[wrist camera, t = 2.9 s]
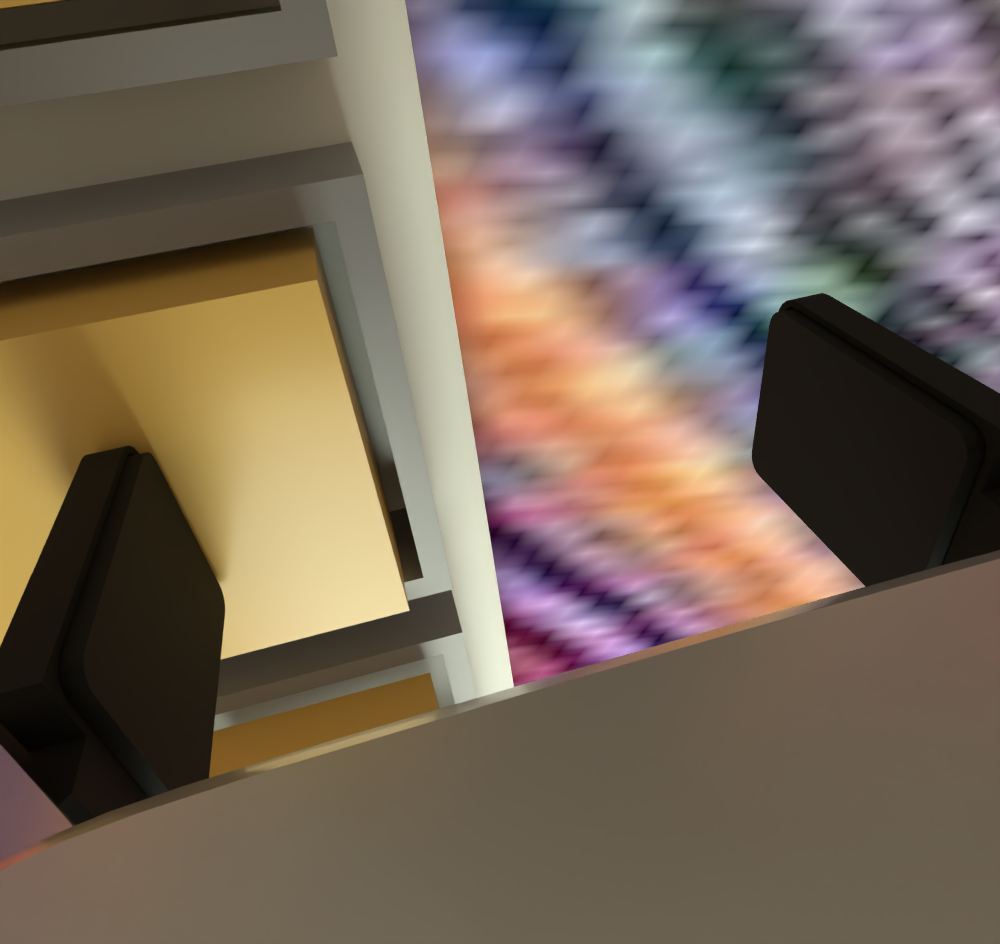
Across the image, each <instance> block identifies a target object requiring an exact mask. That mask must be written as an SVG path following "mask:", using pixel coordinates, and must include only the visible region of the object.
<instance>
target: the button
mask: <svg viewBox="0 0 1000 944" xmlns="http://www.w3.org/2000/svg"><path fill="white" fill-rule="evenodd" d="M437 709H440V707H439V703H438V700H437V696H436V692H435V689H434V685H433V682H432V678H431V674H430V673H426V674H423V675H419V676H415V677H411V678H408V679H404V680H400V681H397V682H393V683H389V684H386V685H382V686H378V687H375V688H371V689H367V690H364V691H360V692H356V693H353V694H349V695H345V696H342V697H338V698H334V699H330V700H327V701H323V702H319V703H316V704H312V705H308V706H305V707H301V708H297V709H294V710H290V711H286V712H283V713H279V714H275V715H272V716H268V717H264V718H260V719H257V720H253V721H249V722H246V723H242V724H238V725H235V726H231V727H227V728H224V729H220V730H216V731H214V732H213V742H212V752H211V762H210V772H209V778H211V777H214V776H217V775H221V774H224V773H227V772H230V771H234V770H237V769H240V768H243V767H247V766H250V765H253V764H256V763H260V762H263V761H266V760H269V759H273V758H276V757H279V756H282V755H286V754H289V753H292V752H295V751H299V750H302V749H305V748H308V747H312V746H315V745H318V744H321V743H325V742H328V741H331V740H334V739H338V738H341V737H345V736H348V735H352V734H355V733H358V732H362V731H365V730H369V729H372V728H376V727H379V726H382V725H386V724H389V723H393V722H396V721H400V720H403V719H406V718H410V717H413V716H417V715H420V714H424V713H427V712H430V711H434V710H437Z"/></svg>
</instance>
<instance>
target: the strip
mask: <svg viewBox="0 0 1000 944" xmlns="http://www.w3.org/2000/svg"><path fill="white" fill-rule="evenodd" d="M308 228H313V230H314V234H315V237H316V241H317V245H318V249H319V252H320V256H321V260H322V263H323V267H324V271H325V274H326V278H327V282H328V285H329V289H330V293H331V297H332V300H333V304H334V308H335V311H336V315H337V319H338V322H339V326H340V330H341V334H342V337H343V341H344V345H345V348H346V352H347V356H348V359H349V363H350V367H351V370H352V374H353V378H354V382H355V385H356V389H357V393H358V396H359V400H360V404H361V407H362V411H363V415H364V419H365V422H366V426H367V430H368V433H369V437H370V441H371V444H372V448H373V452H374V456H375V459H376V463H377V467H378V470H379V474H380V478H381V481H382V485H383V489H384V492H385V496H386V500H387V504H388V507H389V511H390V515H391V518H392V522H393V526H394V529H395V534H396V540H397V545H398V551H399V556H400V561H401V567H402V572H403V578H404V583H405V589H406V594H407V599H408V605H409V610H410V611H406V612H402V613H399V614H395V615H391V616H387V617H383V618H379V619H375V620H372V621H368V622H364V623H360V624H356V625H352V626H348V627H344V628H341V629H337V630H333V631H329V632H325V633H321V634H317V635H314V636H310V637H306V638H302V639H298V640H294V641H290V642H287V643H283V644H279V645H275V646H271V647H267V648H263V649H259V650H256V651H252V652H248V653H244V654H240V655H236V656H232V657H229V658H225V659H221V660H220V671H219V681H218V691H217V701H216V711H215V722H214V731H216V730H220V729H224V728H227V727H231V726H235V725H238V724H242V723H246V722H249V721H253V720H257V719H260V718H264V717H268V716H272V715H275V714H279V713H283V712H286V711H290V710H294V709H297V708H301V707H305V706H308V705H312V704H316V703H319V702H323V701H327V700H330V699H334V698H338V697H342V696H345V695H349V694H353V693H356V692H360V691H364V690H367V689H371V688H375V687H378V686H382V685H386V684H389V683H393V682H397V681H400V680H404V679H408V678H411V677H415V676H419V675H423V674H426V673H430V674H431V678H432V682H433V685H434V689H435V692H436V696H437V700H438V703H439V707H440V709H441V708H444V707H448V706H451V705H454V704H458V703H461V702H465V701H468V700H472V699H475V698H478V697H482V696H485V695H489V694H492V693H496V692H499V691H502V690H506V689H509V688H513V687H514V685H513V679H512V673H511V666H510V660H509V654H508V647H507V641H506V635H505V629H504V622H503V616H502V610H501V603H500V597H499V591H498V584H497V578H496V572H495V565H494V559H493V553H492V546H491V540H490V534H489V528H488V521H487V515H486V509H485V502H484V496H483V490H482V483H481V477H480V471H479V464H478V458H477V452H476V446H475V439H474V433H473V427H472V420H471V414H470V408H469V401H468V395H467V389H466V382H465V376H464V370H463V364H462V357H461V351H460V345H459V338H458V332H457V326H456V319H455V313H454V307H453V300H452V294H451V288H450V282H449V275H448V269H447V263H446V256H445V250H444V244H443V237H442V231H441V225H440V218H439V212H438V206H437V200H436V193H435V187H434V181H433V174H432V168H431V162H430V155H429V149H428V143H427V136H426V130H425V124H424V117H423V111H422V105H421V99H420V92H419V86H418V80H417V73H416V67H415V61H414V54H413V48H412V42H411V35H410V29H409V23H408V17H407V10H406V4H405V0H72V1H64V2H57V3H49V4H42V5H34V6H27V7H20V8H12V9H5V10H0V285H2V284H8V283H13V282H18V281H24V280H29V279H35V278H40V277H46V276H51V275H57V274H62V273H68V272H73V271H79V270H84V269H90V268H95V267H100V266H106V265H111V264H117V263H122V262H128V261H133V260H139V259H144V258H150V257H155V256H161V255H166V254H172V253H177V252H183V251H188V250H193V249H199V248H204V247H210V246H215V245H221V244H226V243H232V242H237V241H243V240H248V239H254V238H259V237H265V236H270V235H275V234H281V233H286V232H292V231H297V230H303V229H308Z"/></svg>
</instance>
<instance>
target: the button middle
mask: <svg viewBox="0 0 1000 944" xmlns="http://www.w3.org/2000/svg"><path fill="white" fill-rule="evenodd" d="M129 445H130V446H132V447H134V448H135V449H136V451H137V452H138V453H139V454H141V453H146V452H149V453H151V454H152V455H153V456H154V458H155V460H156V461H157V463H158V465H159V467H160V469H161V471H162V473H163V475H164V477H165V479H166V481H167V483H168V485H169V487H170V489H171V491H172V493H173V495H174V496H175V498H176V500H177V502H178V504H179V506H180V508H181V510H182V512H183V514H184V516H185V518H186V520H187V522H188V524H189V526H190V528H191V530H192V532H193V534H194V536H195V538H196V540H197V542H198V544H199V546H200V548H201V550H202V551H203V553H204V555H205V557H206V559H207V561H208V563H209V565H210V567H211V569H212V571H213V573H214V575H215V577H216V579H217V581H218V583H219V585H220V587H221V589H222V593H223V596H224V601H225V620H224V630H223V640H222V650H221V659H225V658H229V657H232V656H236V655H240V654H244V653H248V652H252V651H256V650H259V649H263V648H267V647H271V646H275V645H279V644H283V643H287V642H290V641H294V640H298V639H302V638H306V637H310V636H314V635H317V634H321V633H325V632H329V631H333V630H337V629H341V628H344V627H348V626H352V625H356V624H360V623H364V622H368V621H372V620H375V619H379V618H383V617H387V616H391V615H395V614H399V613H402V612H406V611H410V610H409V605H408V599H407V594H406V589H405V583H404V578H403V572H402V567H401V561H400V556H399V551H398V545H397V540H396V534H395V529H394V526H393V522H392V518H391V515H390V511H389V507H388V504H387V500H386V496H385V492H384V489H383V485H382V481H381V478H380V474H379V470H378V467H377V463H376V459H375V456H374V452H373V448H372V444H371V441H370V437H369V433H368V430H367V426H366V422H365V419H364V415H363V411H362V407H361V404H360V400H359V396H358V393H357V389H356V385H355V382H354V378H353V374H352V370H351V367H350V363H349V359H348V356H347V352H346V348H345V345H344V341H343V337H342V334H341V330H340V326H339V322H338V319H337V315H336V311H335V308H334V304H333V300H332V297H331V293H330V289H329V285H328V282H327V278H326V274H325V271H324V267H323V263H322V260H321V256H320V252H319V249H318V245H317V241H316V237H315V234H314V230H313V228H308V229H303V230H297V231H292V232H286V233H281V234H275V235H270V236H265V237H259V238H254V239H248V240H243V241H237V242H232V243H226V244H221V245H215V246H210V247H204V248H199V249H193V250H188V251H183V252H177V253H172V254H166V255H161V256H155V257H150V258H144V259H139V260H133V261H128V262H122V263H117V264H111V265H106V266H100V267H95V268H90V269H84V270H79V271H73V272H68V273H62V274H57V275H51V276H46V277H40V278H35V279H29V280H24V281H18V282H13V283H8V284H2V285H0V646H1V643H2V641H3V639H4V636H5V634H6V632H7V630H8V627H9V625H10V623H11V620H12V618H13V616H14V613H15V611H16V609H17V606H18V604H19V602H20V600H21V597H22V595H23V593H24V590H25V588H26V586H27V583H28V581H29V579H30V576H31V574H32V573H33V570H34V568H35V566H36V563H37V561H38V559H39V556H40V554H41V552H42V549H43V547H44V545H45V543H46V540H47V538H48V536H49V533H50V531H51V529H52V526H53V524H54V522H55V519H56V517H57V515H58V512H59V510H60V508H61V505H62V503H63V501H64V499H65V496H66V494H67V492H68V489H69V487H70V485H71V482H72V480H73V478H74V475H75V473H76V471H77V468H78V466H79V464H80V462H81V459H82V458H83V457H84V455H88V454H92V453H97V452H101V451H106V450H110V449H115V448H120V447H124V446H129Z"/></svg>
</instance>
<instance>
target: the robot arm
mask: <svg viewBox="0 0 1000 944" xmlns="http://www.w3.org/2000/svg"><path fill="white" fill-rule="evenodd" d="M752 461H753V465H754V468H755V470H756V472H757V473H758V475H759V476H760V477H761V478H762V479H763V480H764V481H765V482H766V483H767V484H768V485H769V486H770V487H771V488H772V489H773V491H774V492H775V493H776V494H777V495H778V496H779V497H780V498H781V499H782V500H783V501H784V502H785V503H786V504H787V505H788V506H789V507H790V508H791V509H792V510H793V511H794V512H795V513H796V514H797V516H798V517H799V518H800V519H801V520H802V521H803V522H804V523H805V524H806V525H807V526H808V527H809V528H810V529H811V530H812V531H813V532H814V533H815V534H816V535H817V536H818V537H819V538H820V539H821V541H822V542H823V543H824V544H825V545H826V546H827V547H828V548H829V549H830V550H831V551H832V552H833V553H834V554H835V555H836V556H837V557H838V558H839V559H840V560H841V561H842V562H843V563H844V564H845V565H846V567H847V568H848V569H849V570H850V571H851V572H852V573H853V574H854V575H855V576H856V577H857V578H858V579H859V580H860V581H861V582H862V583H863V584H864V585H865V586H866V587H864V588H860V589H856V590H853V591H849V592H846V593H842V594H839V595H835V596H831V597H828V598H824V599H821V600H817V601H814V602H810V603H806V604H803V605H799V606H796V607H792V608H789V609H785V610H781V611H778V612H774V613H771V614H767V615H764V616H760V617H757V618H753V619H750V620H746V621H743V622H739V623H736V624H732V625H729V626H725V627H722V628H718V629H715V630H711V631H708V632H704V633H701V634H697V635H694V636H690V637H687V638H683V639H680V640H676V641H673V642H669V643H666V644H662V645H659V646H655V647H652V648H648V649H645V650H641V651H638V652H634V653H631V654H627V655H624V656H620V657H617V658H613V659H610V660H606V661H603V662H599V663H596V664H592V665H589V666H585V667H582V668H578V669H575V670H571V671H568V672H564V673H561V674H557V675H554V676H550V677H547V678H544V679H540V680H537V681H533V682H530V683H526V684H523V685H520V686H516V687H513V688H509V689H506V690H502V691H499V692H496V693H492V694H489V695H485V696H482V697H478V698H475V699H472V700H468V701H465V702H461V703H458V704H454V705H451V706H448V707H444V708H441V709H437V710H434V711H430V712H427V713H424V714H420V715H417V716H413V717H410V718H406V719H403V720H400V721H396V722H393V723H389V724H386V725H382V726H379V727H376V728H372V729H369V730H365V731H362V732H358V733H355V734H352V735H348V736H345V737H341V738H338V739H334V740H331V741H328V742H325V743H321V744H318V745H315V746H312V747H308V748H305V749H302V750H299V751H295V752H292V753H289V754H286V755H282V756H279V757H276V758H273V759H269V760H266V761H263V762H260V763H256V764H253V765H250V766H247V767H243V768H240V769H237V770H234V771H230V772H227V773H224V774H221V775H217V776H214V777H211V778H209V772H210V762H211V752H212V742H213V732H214V722H215V711H216V701H217V691H218V681H219V671H220V660H221V650H222V640H223V630H224V620H225V601H224V596H223V593H222V589H221V587H220V585H219V583H218V581H217V579H216V577H215V575H214V573H213V571H212V569H211V567H210V565H209V563H208V561H207V559H206V557H205V555H204V553H203V551H202V550H201V548H200V546H199V544H198V542H197V540H196V538H195V536H194V534H193V532H192V530H191V528H190V526H189V524H188V522H187V520H186V518H185V516H184V514H183V512H182V510H181V508H180V506H179V504H178V502H177V500H176V498H175V496H174V495H173V493H172V491H171V489H170V487H169V485H168V483H167V481H166V479H165V477H164V475H163V473H162V471H161V469H160V467H159V465H158V463H157V461H156V460H155V458H154V456H153V455H152V454H151V453H149V452H146V453H141V454H139V453H138V452H137V451H136V449H135V448H134V447H132V446H130V445H129V446H124V447H120V448H115V449H110V450H106V451H101V452H97V453H92V454H88V455H84V457H83V458H82V459H81V462H80V464H79V466H78V468H77V471H76V473H75V475H74V478H73V480H72V482H71V485H70V487H69V489H68V492H67V494H66V496H65V499H64V501H63V503H62V505H61V508H60V510H59V512H58V515H57V517H56V519H55V522H54V524H53V526H52V529H51V531H50V533H49V536H48V538H47V540H46V543H45V545H44V547H43V549H42V552H41V554H40V556H39V559H38V561H37V563H36V566H35V568H34V570H33V573H32V574H31V576H30V579H29V581H28V583H27V586H26V588H25V590H24V593H23V595H22V597H21V600H20V602H19V604H18V606H17V609H16V611H15V613H14V616H13V618H12V620H11V623H10V625H9V627H8V630H7V632H6V634H5V636H4V639H3V641H2V643H1V646H0V944H1000V393H998V392H996V391H994V390H993V389H991V388H989V387H987V386H986V385H984V384H982V383H981V382H979V381H977V380H975V379H974V378H972V377H970V376H968V375H967V374H965V373H963V372H961V371H960V370H958V369H956V368H954V367H953V366H951V365H949V364H947V363H946V362H944V361H942V360H940V359H939V358H937V357H935V356H934V355H932V354H930V353H928V352H927V351H925V350H923V349H921V348H920V347H918V346H916V345H914V344H913V343H911V342H909V341H907V340H906V339H904V338H902V337H900V336H899V335H897V334H895V333H893V332H892V331H890V330H888V329H887V328H885V327H883V326H881V325H880V324H878V323H876V322H874V321H873V320H871V319H869V318H867V317H866V316H864V315H862V314H860V313H859V312H857V311H855V310H853V309H852V308H850V307H848V306H847V305H845V304H843V303H841V302H840V301H838V300H836V299H834V298H833V297H831V296H829V295H827V294H824V293H821V294H816V295H811V296H807V297H802V298H798V299H793V300H789V301H786V302H785V303H783V304H782V306H781V307H780V309H779V312H777V313H775V314H774V315H773V316H772V318H771V321H770V325H769V332H768V340H767V347H766V354H765V361H764V369H763V376H762V383H761V390H760V398H759V405H758V412H757V419H756V427H755V434H754V441H753V449H752Z"/></svg>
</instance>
